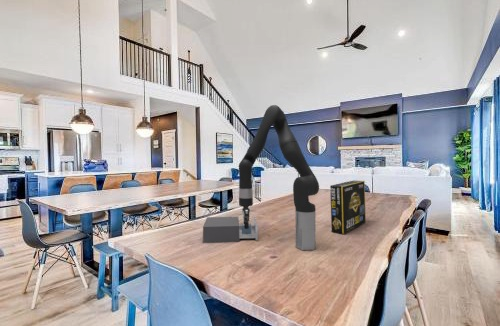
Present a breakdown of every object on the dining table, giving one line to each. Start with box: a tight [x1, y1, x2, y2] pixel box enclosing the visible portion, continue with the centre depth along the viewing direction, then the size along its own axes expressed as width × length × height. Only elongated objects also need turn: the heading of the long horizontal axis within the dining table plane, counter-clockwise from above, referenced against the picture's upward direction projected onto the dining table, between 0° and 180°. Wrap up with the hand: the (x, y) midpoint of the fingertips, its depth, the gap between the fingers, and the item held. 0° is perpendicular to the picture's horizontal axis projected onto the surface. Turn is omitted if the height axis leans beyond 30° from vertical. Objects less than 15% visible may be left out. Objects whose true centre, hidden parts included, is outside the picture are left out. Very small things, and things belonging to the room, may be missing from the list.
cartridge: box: [241, 222, 252, 233], centre depth 139 cm, size 4×5×4 cm
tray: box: [239, 215, 259, 241], centre depth 139 cm, size 18×20×8 cm
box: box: [329, 180, 367, 235], centre depth 153 cm, size 34×8×27 cm, turn 137°
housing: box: [202, 216, 240, 244], centre depth 138 cm, size 18×20×8 cm
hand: (246, 226), depth 139 cm, fingers open, 8 cm apart
